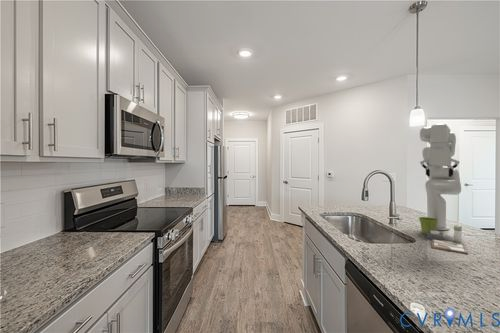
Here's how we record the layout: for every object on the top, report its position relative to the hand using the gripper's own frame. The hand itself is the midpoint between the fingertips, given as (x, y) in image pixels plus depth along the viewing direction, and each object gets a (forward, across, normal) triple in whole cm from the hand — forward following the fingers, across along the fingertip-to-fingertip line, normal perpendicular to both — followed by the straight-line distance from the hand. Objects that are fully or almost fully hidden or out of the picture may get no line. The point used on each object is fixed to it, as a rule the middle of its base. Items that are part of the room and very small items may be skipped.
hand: (439, 176), depth 128 cm
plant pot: (+35, +4, -8) cm, 36 cm away
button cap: (+33, +2, +2) cm, 33 cm away
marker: (+35, -7, +4) cm, 36 cm away
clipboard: (+35, -1, +15) cm, 38 cm away
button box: (+35, +2, +2) cm, 35 cm away
